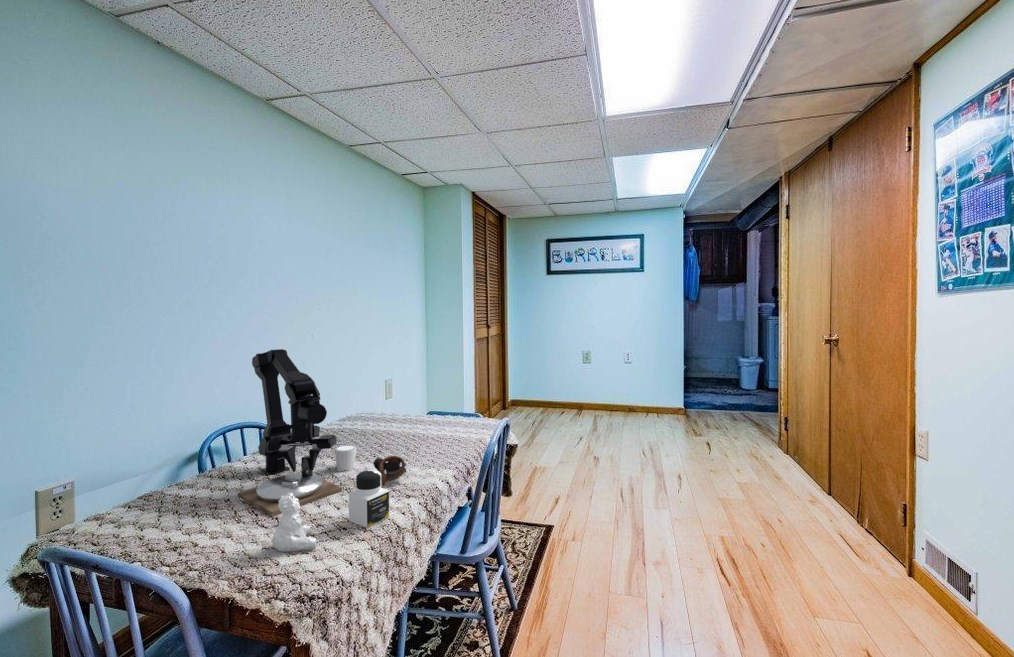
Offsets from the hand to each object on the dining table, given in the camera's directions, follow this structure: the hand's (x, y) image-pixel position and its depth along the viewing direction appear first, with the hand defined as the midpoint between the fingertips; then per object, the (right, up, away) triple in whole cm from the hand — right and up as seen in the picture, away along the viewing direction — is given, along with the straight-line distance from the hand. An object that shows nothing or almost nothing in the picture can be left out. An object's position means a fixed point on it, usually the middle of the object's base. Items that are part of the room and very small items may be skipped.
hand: (303, 470), depth 132 cm
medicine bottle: (+27, -6, -21) cm, 34 cm away
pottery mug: (+25, -5, +6) cm, 26 cm away
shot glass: (+7, -4, +15) cm, 17 cm away
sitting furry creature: (+14, -6, -34) cm, 37 cm away
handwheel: (-1, -3, -6) cm, 7 cm away
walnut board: (-1, -5, -6) cm, 8 cm away
